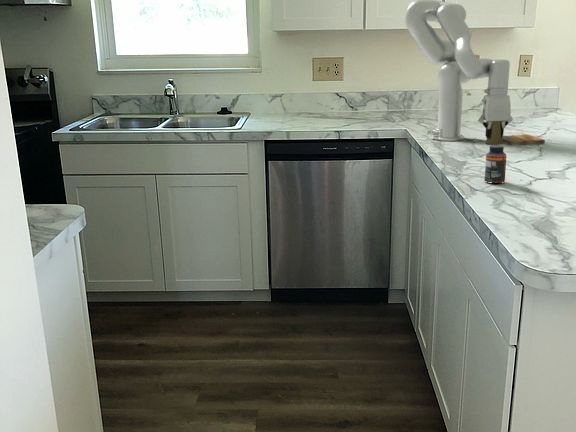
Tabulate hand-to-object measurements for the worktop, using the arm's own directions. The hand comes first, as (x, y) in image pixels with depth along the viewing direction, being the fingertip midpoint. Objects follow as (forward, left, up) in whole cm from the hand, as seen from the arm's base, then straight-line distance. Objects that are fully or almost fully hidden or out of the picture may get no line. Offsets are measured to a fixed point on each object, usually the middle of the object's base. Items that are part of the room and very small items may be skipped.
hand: (494, 137), depth 251 cm
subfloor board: (+12, +1, -2) cm, 12 cm away
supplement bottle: (-26, -61, -2) cm, 66 cm away
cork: (0, 0, -2) cm, 2 cm away
